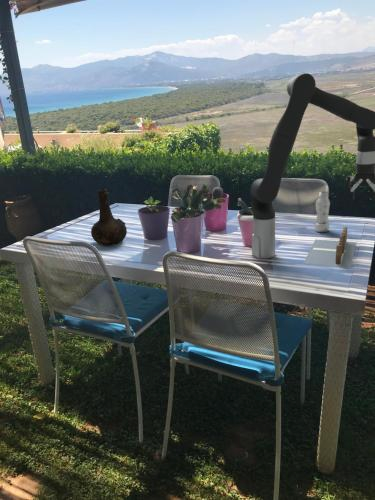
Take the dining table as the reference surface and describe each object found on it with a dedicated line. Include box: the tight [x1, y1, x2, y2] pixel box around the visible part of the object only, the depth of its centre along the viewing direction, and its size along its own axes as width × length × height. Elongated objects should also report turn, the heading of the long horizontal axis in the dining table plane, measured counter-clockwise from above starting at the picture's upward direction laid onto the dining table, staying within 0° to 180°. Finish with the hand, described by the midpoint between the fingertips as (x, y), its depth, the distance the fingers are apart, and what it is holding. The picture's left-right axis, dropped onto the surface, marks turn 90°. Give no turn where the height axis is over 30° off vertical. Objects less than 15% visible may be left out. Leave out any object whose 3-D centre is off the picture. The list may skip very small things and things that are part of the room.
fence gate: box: [339, 226, 348, 248], centre depth 182 cm, size 13×2×7 cm, turn 155°
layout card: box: [303, 239, 357, 269], centre depth 178 cm, size 31×18×1 cm, turn 155°
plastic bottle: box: [314, 191, 331, 233], centre depth 202 cm, size 6×7×20 cm
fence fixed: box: [335, 234, 345, 264], centre depth 170 cm, size 14×2×8 cm, turn 155°
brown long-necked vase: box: [90, 188, 128, 247], centre depth 208 cm, size 18×18×28 cm
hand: (363, 200), depth 178 cm, fingers open, 8 cm apart
